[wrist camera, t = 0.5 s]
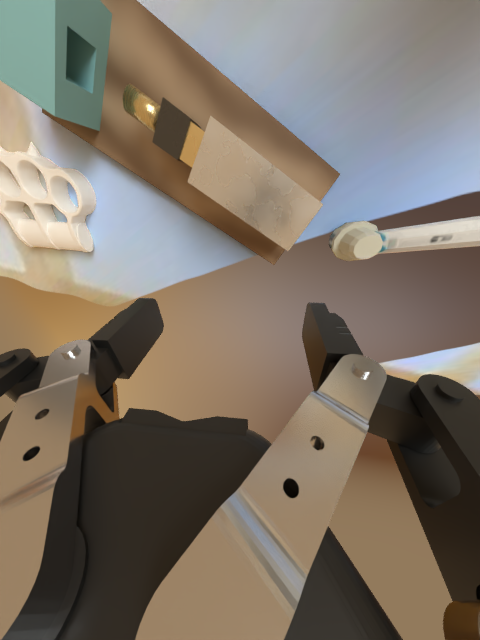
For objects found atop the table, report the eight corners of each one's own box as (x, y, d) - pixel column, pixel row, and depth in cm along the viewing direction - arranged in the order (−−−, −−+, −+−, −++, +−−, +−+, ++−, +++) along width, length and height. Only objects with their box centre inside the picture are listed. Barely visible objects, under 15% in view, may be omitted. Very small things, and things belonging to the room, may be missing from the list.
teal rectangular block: (60, -28, 19) (-22, -113, 13) (112, 14, 20) (55, -50, 14) (59, 103, 24) (0, 80, 19) (99, 131, 25) (54, 116, 20)
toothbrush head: (540, 249, 25) (343, 272, 26) (484, 238, 31) (324, 258, 32) (574, 202, 22) (351, 230, 23) (506, 200, 28) (328, 222, 29)
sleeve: (223, 131, 24) (210, 115, 19) (312, 200, 27) (323, 204, 21) (202, 182, 27) (187, 181, 22) (284, 239, 30) (288, 251, 25)
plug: (143, 83, 21) (122, 65, 18) (302, 205, 26) (307, 207, 23) (135, 125, 23) (115, 116, 20) (284, 231, 28) (286, 237, 25)
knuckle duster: (24, 242, 37) (-33, 138, 29) (114, 250, 36) (82, 145, 28) (4, 246, 34) (-65, 133, 26) (101, 255, 33) (61, 140, 25)
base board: (52, -66, 19) (37, -84, 17) (336, 174, 26) (340, 174, 25) (52, 115, 26) (42, 112, 25) (273, 262, 34) (274, 264, 32)
